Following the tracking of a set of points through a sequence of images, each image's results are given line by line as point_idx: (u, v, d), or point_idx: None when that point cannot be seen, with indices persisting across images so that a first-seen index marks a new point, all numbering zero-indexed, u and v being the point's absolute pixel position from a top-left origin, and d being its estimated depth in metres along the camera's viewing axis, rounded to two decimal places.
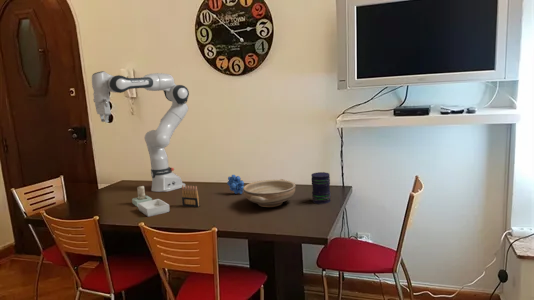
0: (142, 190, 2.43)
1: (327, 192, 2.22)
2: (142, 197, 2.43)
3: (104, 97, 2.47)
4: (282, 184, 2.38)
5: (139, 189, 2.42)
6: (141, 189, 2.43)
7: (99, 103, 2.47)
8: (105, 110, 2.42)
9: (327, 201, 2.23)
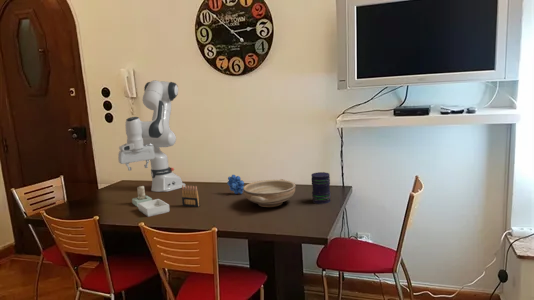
0: (142, 190, 2.43)
1: (327, 192, 2.22)
2: (142, 197, 2.43)
3: None
4: (282, 184, 2.38)
5: (139, 189, 2.42)
6: (141, 189, 2.43)
7: (141, 149, 2.40)
8: (154, 154, 2.46)
9: (327, 201, 2.23)
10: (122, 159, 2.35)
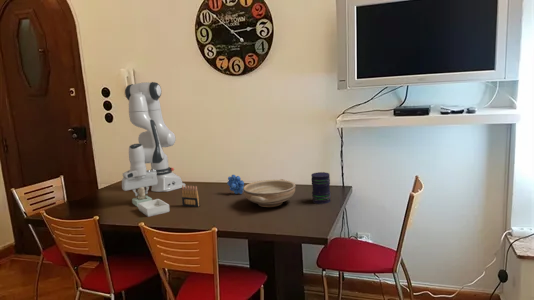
0: (142, 190, 2.43)
1: (327, 192, 2.22)
2: (142, 197, 2.43)
3: None
4: (282, 184, 2.38)
5: (139, 189, 2.42)
6: (141, 189, 2.43)
7: (144, 175, 2.42)
8: (157, 179, 2.48)
9: (327, 201, 2.23)
10: (125, 186, 2.37)
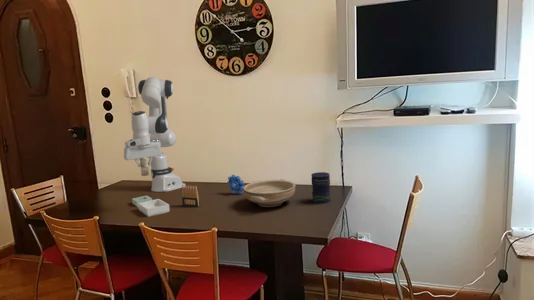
0: (145, 160, 2.29)
1: (327, 192, 2.22)
2: (145, 168, 2.29)
3: None
4: (282, 184, 2.38)
5: (142, 159, 2.28)
6: (144, 159, 2.29)
7: (147, 145, 2.29)
8: None
9: (327, 201, 2.23)
10: (128, 155, 2.24)
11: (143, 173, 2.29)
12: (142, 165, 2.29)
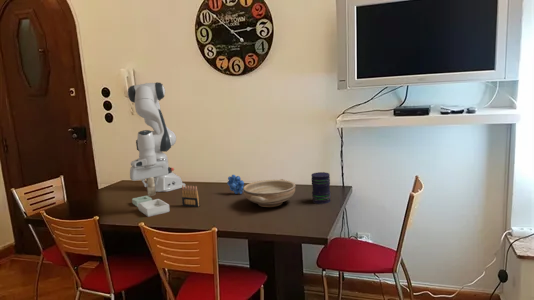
0: (152, 180, 2.25)
1: (327, 192, 2.22)
2: (152, 188, 2.25)
3: None
4: (282, 184, 2.38)
5: (148, 179, 2.24)
6: (151, 179, 2.25)
7: (153, 165, 2.24)
8: None
9: (327, 201, 2.23)
10: (134, 176, 2.19)
11: (150, 193, 2.26)
12: (149, 185, 2.25)
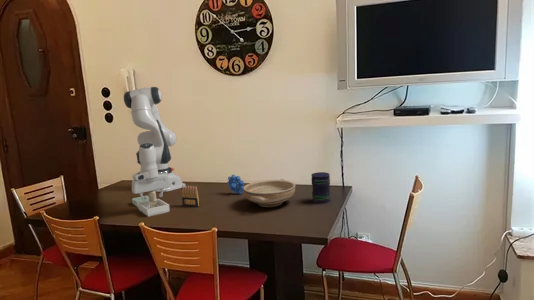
0: (153, 195, 2.27)
1: (327, 192, 2.22)
2: (153, 202, 2.27)
3: None
4: (282, 184, 2.38)
5: (150, 194, 2.26)
6: (152, 194, 2.26)
7: (155, 177, 2.26)
8: None
9: (327, 201, 2.23)
10: (136, 189, 2.21)
11: (152, 207, 2.27)
12: (150, 199, 2.26)
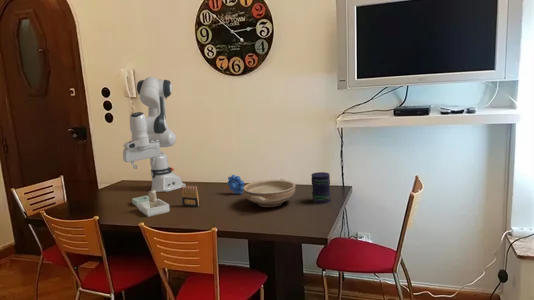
0: (154, 195, 2.26)
1: (327, 192, 2.22)
2: (153, 202, 2.27)
3: None
4: (282, 184, 2.38)
5: (150, 194, 2.26)
6: (153, 194, 2.26)
7: (146, 146, 2.28)
8: None
9: (327, 201, 2.23)
10: (127, 157, 2.23)
11: (152, 207, 2.27)
12: (151, 199, 2.26)
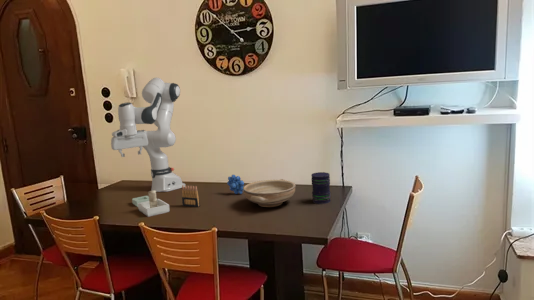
0: (154, 195, 2.27)
1: (327, 192, 2.22)
2: (154, 202, 2.27)
3: None
4: (282, 184, 2.38)
5: (150, 194, 2.26)
6: (153, 194, 2.26)
7: (134, 135, 2.37)
8: (147, 140, 2.43)
9: (327, 201, 2.23)
10: (115, 145, 2.32)
11: (152, 207, 2.27)
12: (151, 199, 2.26)
